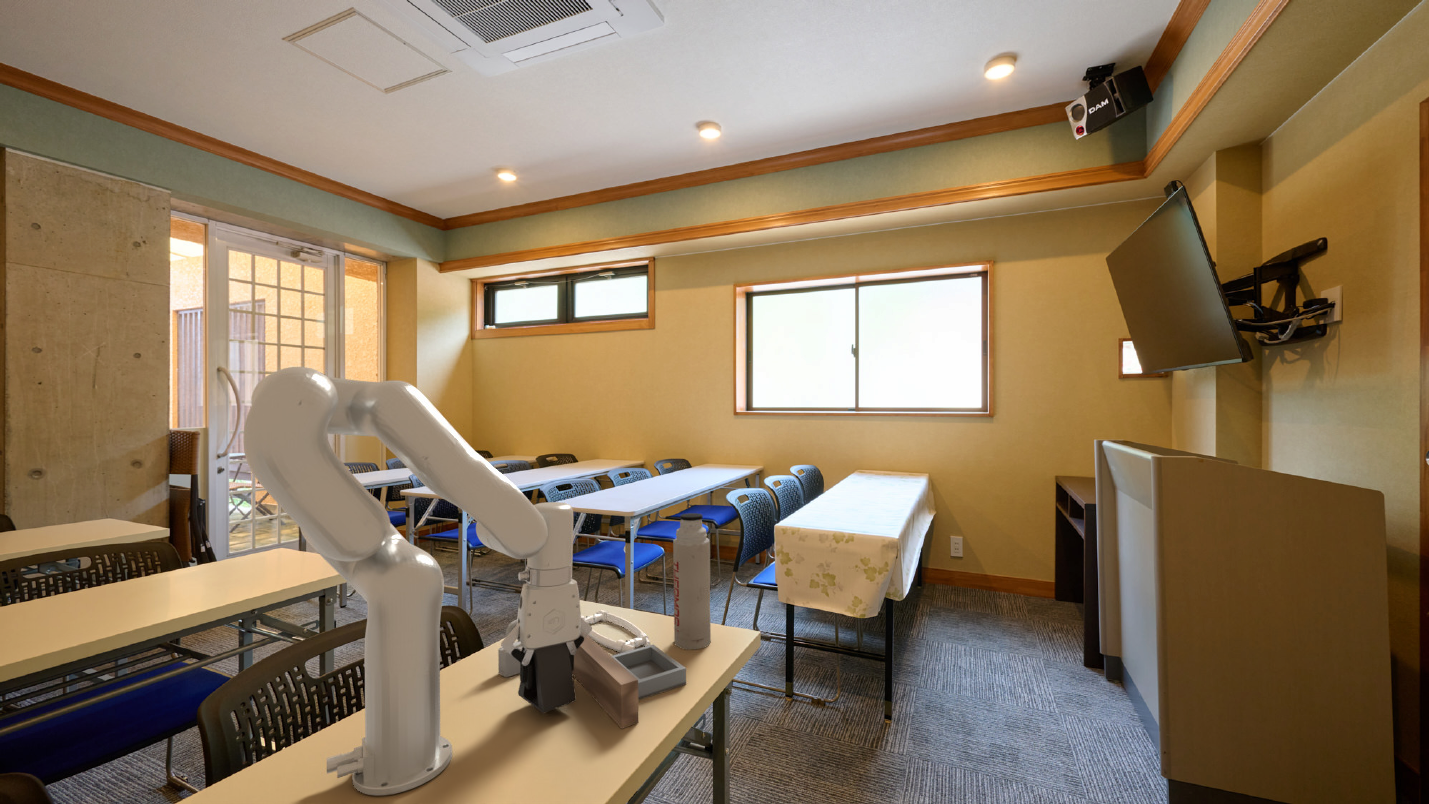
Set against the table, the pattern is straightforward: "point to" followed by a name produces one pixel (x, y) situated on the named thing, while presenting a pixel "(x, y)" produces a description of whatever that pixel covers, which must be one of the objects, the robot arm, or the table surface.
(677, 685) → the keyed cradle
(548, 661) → the door stopper
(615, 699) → the board
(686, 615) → the thermos bottle
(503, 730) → the table surface
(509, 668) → the padlock
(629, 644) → the door handle
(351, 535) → the robot arm
